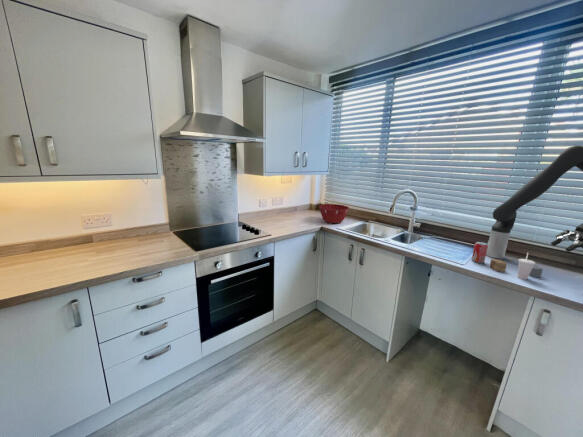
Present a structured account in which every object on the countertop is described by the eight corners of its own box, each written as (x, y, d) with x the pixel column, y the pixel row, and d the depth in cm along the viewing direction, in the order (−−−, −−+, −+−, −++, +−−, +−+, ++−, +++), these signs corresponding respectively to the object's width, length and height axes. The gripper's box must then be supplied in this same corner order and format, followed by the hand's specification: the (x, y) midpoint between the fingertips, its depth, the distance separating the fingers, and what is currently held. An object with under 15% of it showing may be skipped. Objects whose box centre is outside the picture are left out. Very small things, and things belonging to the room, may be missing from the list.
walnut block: (489, 267, 141) (491, 259, 139) (499, 268, 140) (501, 260, 138) (494, 270, 136) (496, 262, 135) (504, 271, 135) (506, 263, 134)
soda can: (477, 263, 145) (481, 244, 142) (468, 259, 151) (472, 241, 148) (486, 263, 145) (491, 244, 143) (478, 259, 151) (482, 241, 149)
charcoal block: (522, 272, 135) (525, 264, 134) (533, 273, 134) (535, 265, 133) (529, 276, 130) (531, 267, 129) (540, 277, 129) (542, 268, 128)
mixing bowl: (341, 227, 216) (342, 210, 212) (313, 222, 231) (314, 206, 227) (351, 221, 239) (353, 206, 236) (325, 217, 254) (326, 203, 251)
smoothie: (522, 275, 131) (528, 251, 128) (534, 280, 125) (541, 255, 122) (510, 275, 131) (517, 250, 128) (522, 280, 125) (529, 255, 121)
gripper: (575, 218, 123) (543, 237, 128) (604, 225, 110) (566, 246, 114) (584, 229, 123) (552, 248, 128) (614, 237, 110) (577, 258, 115)
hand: (559, 247), depth 121 cm, fingers open, 8 cm apart
